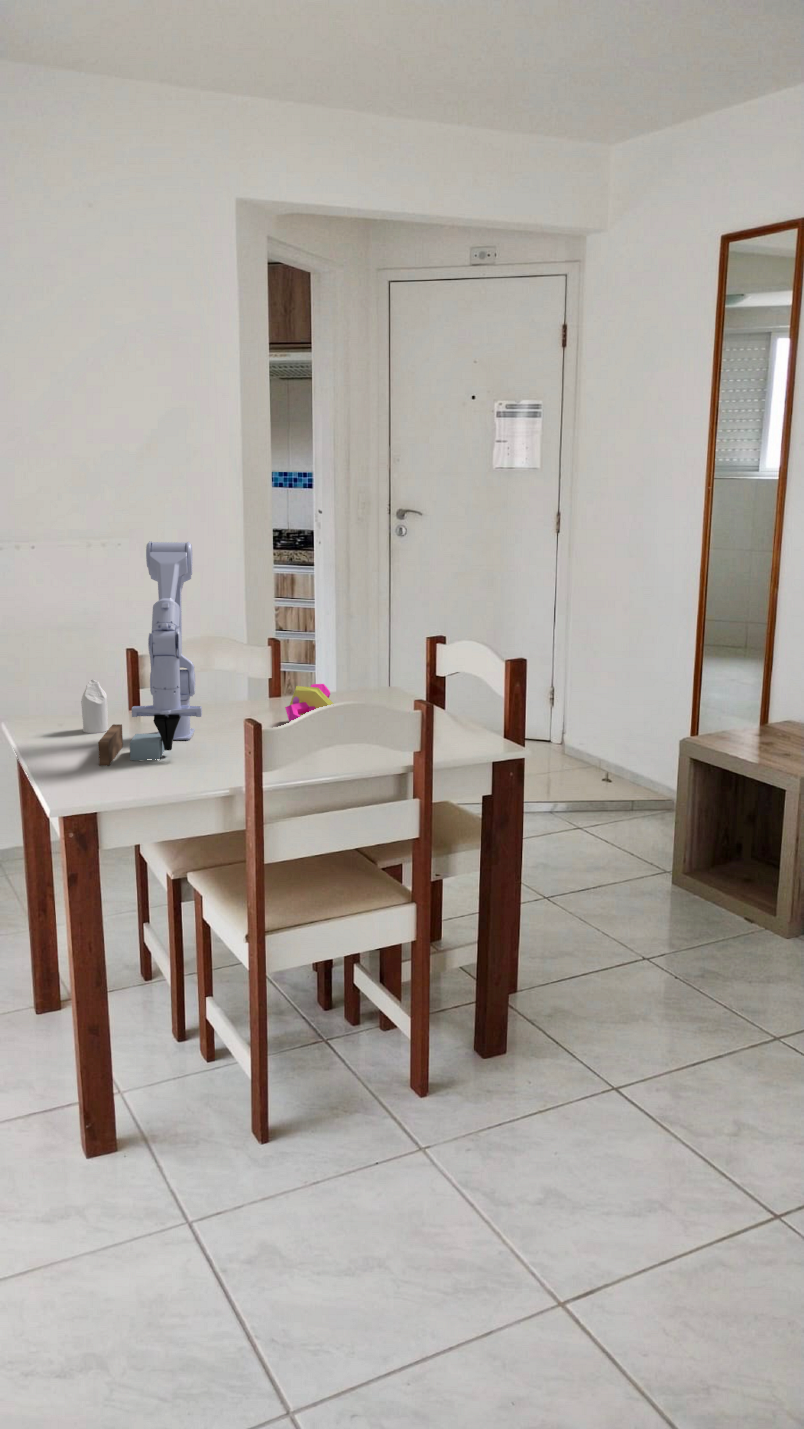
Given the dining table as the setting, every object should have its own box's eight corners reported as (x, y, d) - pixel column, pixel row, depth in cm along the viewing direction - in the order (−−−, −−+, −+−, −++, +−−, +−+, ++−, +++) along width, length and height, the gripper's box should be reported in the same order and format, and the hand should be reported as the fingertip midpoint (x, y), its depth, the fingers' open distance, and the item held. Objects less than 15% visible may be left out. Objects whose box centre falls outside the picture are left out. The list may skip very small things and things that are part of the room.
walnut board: (113, 746, 248) (112, 724, 247) (122, 746, 248) (121, 724, 247) (99, 765, 232) (98, 742, 231) (109, 765, 232) (108, 742, 231)
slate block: (136, 751, 244) (135, 733, 243) (164, 751, 245) (163, 733, 244) (130, 761, 236) (129, 742, 235) (159, 761, 237) (158, 742, 236)
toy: (272, 731, 268) (284, 697, 262) (298, 695, 283) (310, 663, 277) (310, 749, 268) (323, 715, 262) (334, 713, 283) (347, 680, 277)
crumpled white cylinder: (89, 683, 256) (75, 680, 259) (91, 734, 258) (77, 730, 262) (111, 679, 260) (97, 676, 264) (113, 730, 263) (99, 726, 266)
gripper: (128, 690, 233) (130, 754, 236) (198, 690, 234) (200, 753, 237) (133, 684, 240) (136, 745, 243) (202, 684, 241) (203, 745, 244)
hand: (168, 749), depth 240 cm, fingers closed
